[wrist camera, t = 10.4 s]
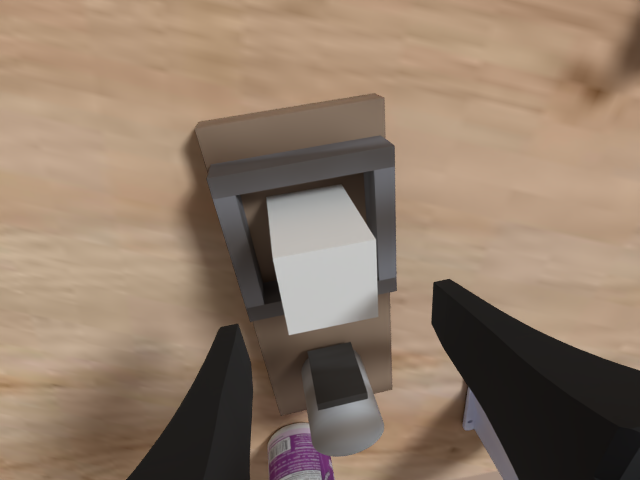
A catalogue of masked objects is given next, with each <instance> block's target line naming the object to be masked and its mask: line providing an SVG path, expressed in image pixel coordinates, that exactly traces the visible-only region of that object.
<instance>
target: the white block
mask: <svg viewBox="0 0 640 480" xmlns="http://www.w3.org/2000/svg"><path fill="white" fill-rule="evenodd" d="M266 198H267V208H268V218H269V227H270V237H271V247H272V256H273V262H274V267H275V272H276V276H277V281H278V286H279V291H280V295H281V300H282V305H283V309H284V314H285V319H286V323H287V328H288V333H289V335H293V334H297V333H302V332H307V331H312V330H317V329H322V328H327V327H331V326H336V325H341V324H346V323H351V322H356V321H361V320H365V319H370V318H375V317H378V289H377V257H376V239H375V237H374V236H373V234H372V232H371V231H370V229H369V228H368V226H367V224H366V223H365V221H364V220H363V218H362V216H361V215H360V213H359V212H358V210H357V208H356V207H355V205H354V204H353V202H352V200H351V199H350V197H349V196H348V194H347V192H346V191H345V189H344V188H343V186H342V184H340V185H334V186H328V187H322V188H316V189H310V190H304V191H298V192H292V193H286V194H280V195H274V196H268V197H266Z"/></svg>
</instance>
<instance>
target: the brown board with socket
mask: <svg viewBox="0 0 640 480" xmlns="http://www.w3.org/2000/svg"><path fill="white" fill-rule="evenodd" d="M195 131H196V135H197V138H198V141H199V145H200V148H201V151H202V155H203V158H204V161H205V165H206V168H207V171H208V176H207V182H208V185H209V188H210V192H211V195H212V198H213V201H214V205H215V208H216V211H217V215H218V218H219V221H220V224H221V228H222V231H223V234H224V238H225V241H226V244H227V247H228V251H229V254H230V257H231V260H232V264H233V267H234V270H235V274H236V277H237V280H238V283H239V287H240V290H241V293H242V297H243V300H244V303H245V306H246V310H247V313H248V316H249V320H250V322H252V321H253V325H254V328H255V331H256V335H257V338H258V341H259V345H260V348H261V351H262V355H263V358H264V361H265V365H266V368H267V371H268V375H269V378H270V381H271V385H272V388H273V391H274V395H275V398H276V401H277V405H278V408H279V411H280V415H281V416H282V415H286V414H291V413H295V412H299V411H303V410H307V413H308V420H309V427H310V433H311V440H312V445H313V447H314V448H315V449H316V450H317V451H318V452H319V453H321V454H324V455H327V456H337V457H338V456H347V455H352V454H355V453H358V452H361V451H363V450H365V449H367V448H369V447H370V446H372V445H373V444H374V443H375V442H376V441H377V440H378V439H379V438H380V437H381V435H382V433H383V431H384V423H383V420H382V417H381V414H380V411H379V408H378V405H377V403H376V400H375V397H374V394H375V393H380V392H384V391H388V390H392V358H391V321H390V292H394V291H397V283H396V214H395V146H394V145H393V144H392V143H390V142H389V141H388V140H386V139H385V103H384V97H382V96H379V95H377V94H368V95H362V96H356V97H350V98H344V99H338V100H331V101H325V102H319V103H313V104H307V105H300V106H294V107H288V108H282V109H276V110H270V111H263V112H257V113H251V114H245V115H239V116H233V117H226V118H220V119H214V120H208V121H202V122H198V124H197V126H196V127H195ZM340 184H342V186H343V188H344V189H345V191H346V192H347V194H348V196H349V197H350V199H351V200H352V202H353V204H354V205H355V207H356V208H357V210H358V212H359V213H360V215H361V216H362V218H363V220H364V221H365V223H366V224H367V226H368V228H369V229H370V231H371V232H372V234H373V236H374V237H375V239H376V257H377V289H378V317H375V318H370V319H365V320H361V321H356V322H351V323H346V324H341V325H336V326H331V327H327V328H322V329H317V330H312V331H307V332H302V333H297V334H293V335H289V333H288V328H287V323H286V319H285V314H284V309H283V305H282V300H281V295H280V291H279V286H278V281H277V276H276V272H275V267H274V262H273V256H272V247H271V237H270V227H269V218H268V208H267V198H266V197H268V196H274V195H280V194H286V193H292V192H298V191H304V190H310V189H316V188H322V187H328V186H334V185H340Z"/></svg>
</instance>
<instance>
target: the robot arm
mask: <svg viewBox="0 0 640 480" xmlns="http://www.w3.org/2000/svg"><path fill="white" fill-rule="evenodd" d="M431 323H432V325H433V328H434V330H435V332H436V334H437V336H438V338H439V340H440V342H441V344H442V346H443V348H444V350H445V351H446V353H447V354H448V356H449V358H450V359H451V361H452V362H453V364H454V365H455V367H456V368H457V370H458V371H459V373H460V374H461V376H462V378H463V379H464V381H465V382H466V384H467V385H468V391H467V398H466V405H465V412H464V419H463V428H464V430H467V431H468V430H472V429H475V431H476V433H477V434H478V436H479V438H480V440H481V441H482V443H483V445H484V447H485V448H486V450H487V452H488V454H489V455H490V457H491V459H492V461H493V462H494V464H495V466H496V468H497V469H498V471H499V473H500V475H501V476H502V478H503V480H640V371H639V370H636V369H633V368H630V367H627V366H624V365H621V364H618V363H615V362H612V361H609V360H606V359H603V358H601V357H598V356H596V355H593V354H590V353H588V352H585V351H583V350H580V349H577V348H575V347H573V346H570V345H568V344H566V343H563V342H561V341H559V340H557V339H555V338H552V337H550V336H548V335H546V334H544V333H542V332H540V331H537V330H535V329H533V328H532V327H530V326H528V325H526V324H524V323H522V322H520V321H518V320H517V319H515V318H513V317H511V316H509V315H508V314H506V313H504V312H502V311H501V310H499V309H497V308H496V307H494V306H492V305H491V304H489V303H487V302H486V301H484V300H482V299H481V298H479V297H478V296H476V295H474V294H473V293H471V292H470V291H468V290H466V289H465V288H463V287H462V286H460V285H459V284H457V283H455V282H454V281H452V280H450V279H447V280H442V281H437V282H434V284H433V303H432V321H431ZM252 400H253V384H252V369H251V361H250V358H249V355H248V352H247V349H246V346H245V343H244V340H243V337H242V334H241V331H240V328H239V325H238V324H234V325H229V326H224V327H221V328H220V329H219V330H218V332H217V335H216V337H215V339H214V342H213V344H212V346H211V348H210V351H209V353H208V355H207V357H206V359H205V361H204V363H203V365H202V367H201V369H200V371H199V373H198V375H197V377H196V379H195V381H194V382H193V384H192V386H191V388H190V390H189V391H188V393H187V395H186V396H185V398H184V400H183V402H182V403H181V405H180V407H179V408H178V410H177V412H176V413H175V415H174V416H173V418H172V419H171V421H170V422H169V424H168V425H167V427H166V428H165V430H164V431H163V433H162V434H161V436H160V437H159V438H158V440H157V441H156V442H155V444H154V445H153V446H152V448H151V449H150V450H149V452H148V453H147V455H146V456H145V457H144V458H143V460H142V461H141V462H140V464H139V465H138V466H137V467H136V469H135V470H134V471H133V472H132V473H131V475H130V476H129V477H128V478H127V479H126V480H250V440H251V421H252Z"/></svg>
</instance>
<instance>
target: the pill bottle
mask: <svg viewBox="0 0 640 480" xmlns="http://www.w3.org/2000/svg"><path fill="white" fill-rule="evenodd" d="M268 469H269V480H335V478H334V472H333V467H332V462H331V457H330V456H327V455H324V454H321V453H319V452H318V451H317V450H316V449H315V448H314V447H313V445H312V440H311V433H310V427H309V423H295V424H291V425H287V426H285V427H283V428H281V429H280V430H278V431H277V432H276V433H275V434H274V435H273V436H272V437H271V439H270V440H269V442H268Z"/></svg>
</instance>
